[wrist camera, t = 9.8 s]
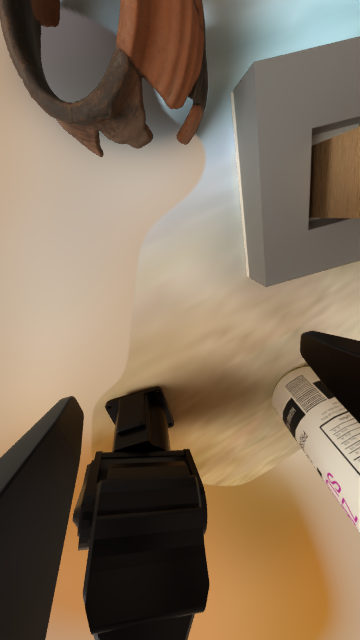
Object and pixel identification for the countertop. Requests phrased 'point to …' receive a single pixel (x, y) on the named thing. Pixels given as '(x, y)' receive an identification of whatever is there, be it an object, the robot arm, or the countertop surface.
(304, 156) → the charcoal well block
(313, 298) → the countertop surface
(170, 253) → the countertop surface
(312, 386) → the supplement can
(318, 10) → the countertop surface
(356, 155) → the wooden toy block
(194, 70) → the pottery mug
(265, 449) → the countertop surface
